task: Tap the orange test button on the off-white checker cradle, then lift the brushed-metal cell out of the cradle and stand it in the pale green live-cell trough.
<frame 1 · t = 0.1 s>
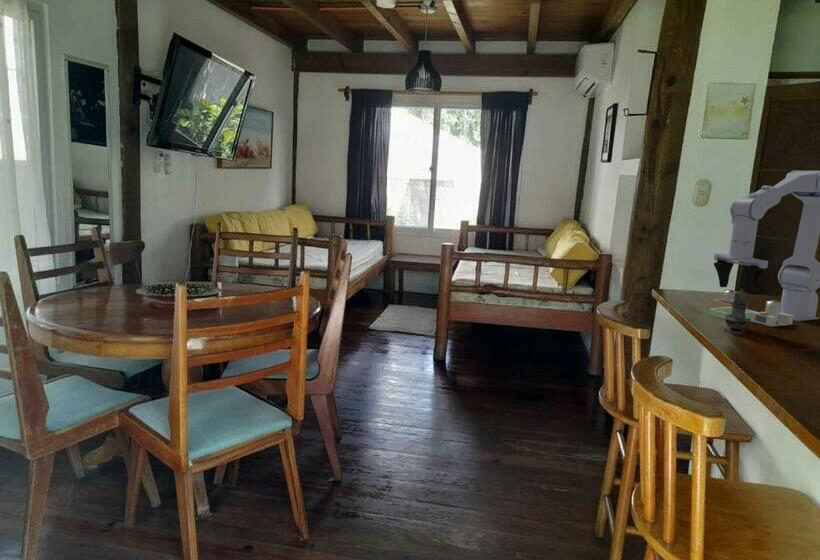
hand: (735, 289, 148), 10 cm above the table, fingers open, 7 cm apart
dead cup: (728, 311, 166), on the table
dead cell: (728, 309, 166), resting on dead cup
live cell: (770, 322, 151), resting on cradle
grey chess piece: (735, 332, 141), on the table
cradle: (770, 323, 151), on the table
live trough: (731, 317, 157), on the table
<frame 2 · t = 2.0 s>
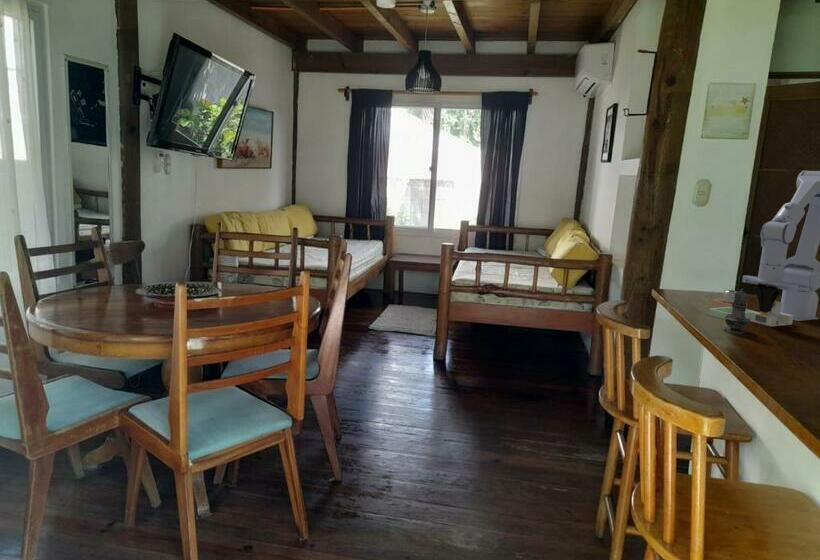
hand: (764, 311, 149), 4 cm above the table, fingers closed
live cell: (770, 322, 151), resting on cradle, touching gripper
everything else where it was.
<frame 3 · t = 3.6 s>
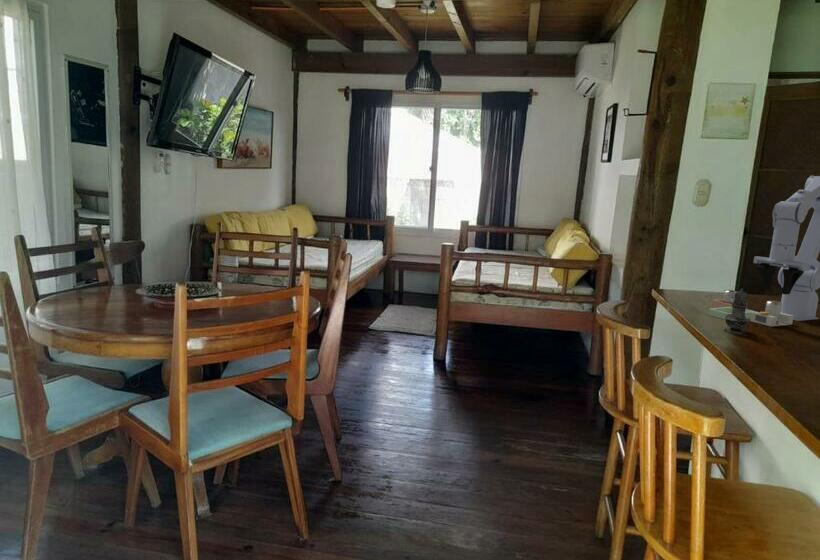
hand: (776, 292, 150), 9 cm above the table, fingers open, 5 cm apart
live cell: (770, 322, 151), resting on cradle
everything else where it was.
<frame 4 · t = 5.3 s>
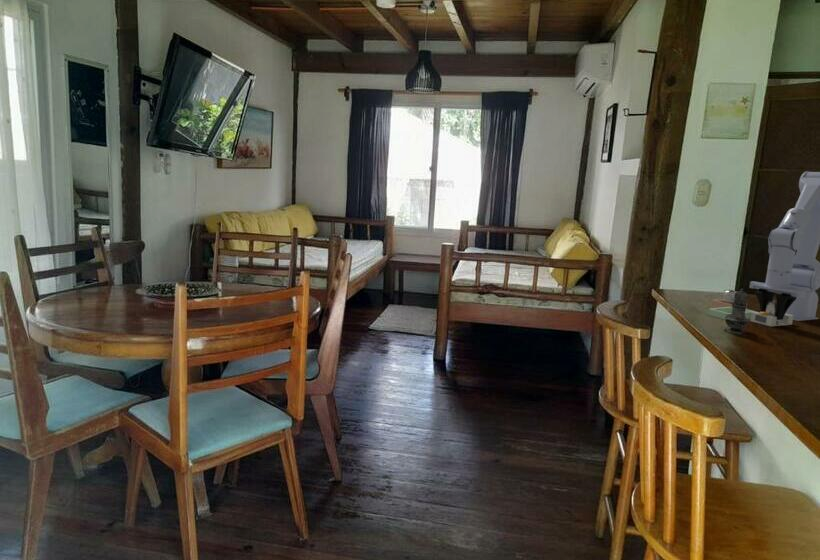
hand: (771, 317, 151), 2 cm above the table, fingers closed on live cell, 4 cm apart
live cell: (770, 322, 151), resting on cradle, touching gripper
everything else where it was.
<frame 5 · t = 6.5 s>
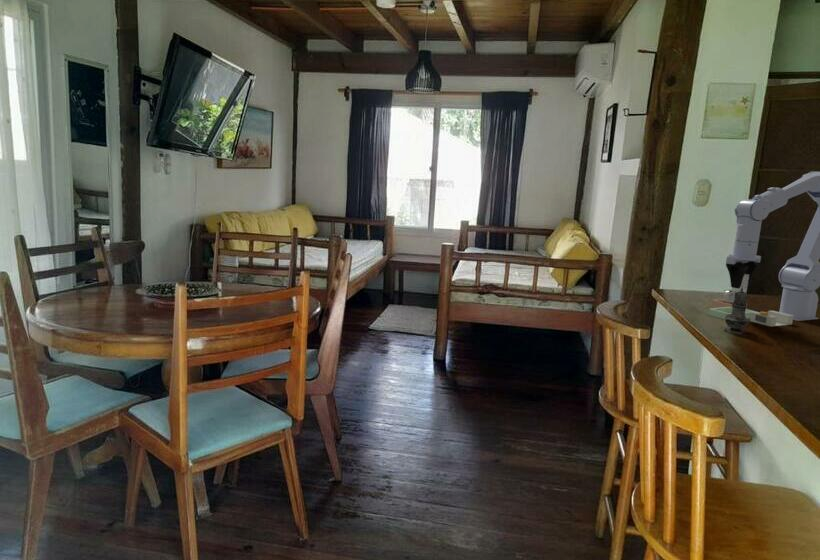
hand: (739, 287, 154), 10 cm above the table, fingers closed on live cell, 4 cm apart
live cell: (738, 293, 155), point 8 cm above the table, touching gripper
everything else where it was.
when the fingers open (3 cm above the table, at t = 8.2 s): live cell stays where it is, resting on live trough.
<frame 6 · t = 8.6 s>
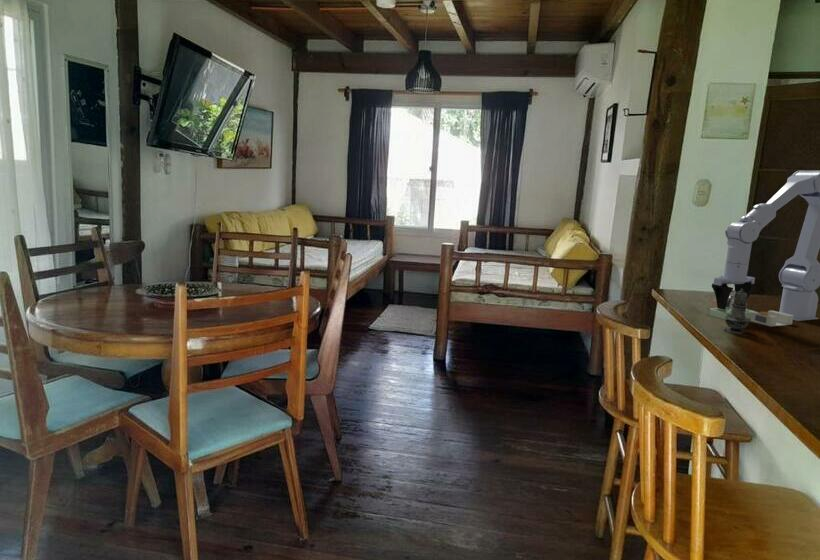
hand: (730, 308, 156), 3 cm above the table, fingers open, 7 cm apart
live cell: (729, 316, 157), resting on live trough
everything else where it was.
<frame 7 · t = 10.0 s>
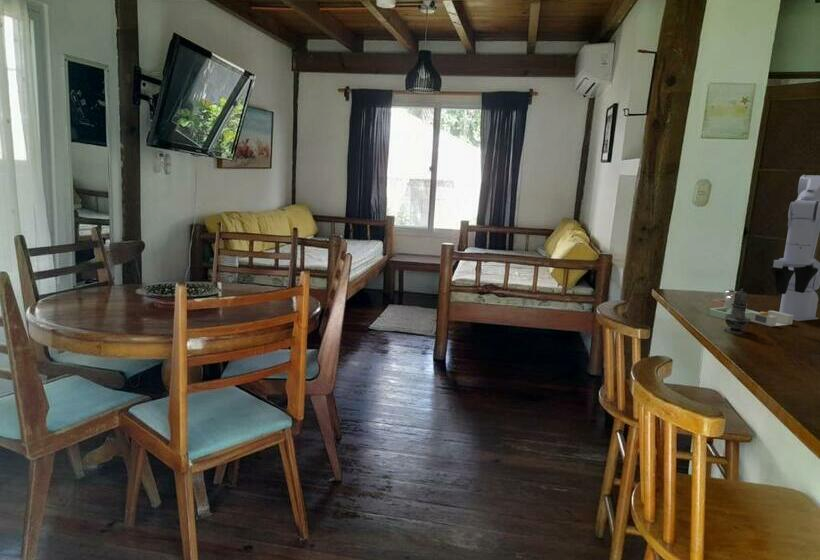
hand: (790, 292, 146), 10 cm above the table, fingers open, 7 cm apart
nothing on the table moved.
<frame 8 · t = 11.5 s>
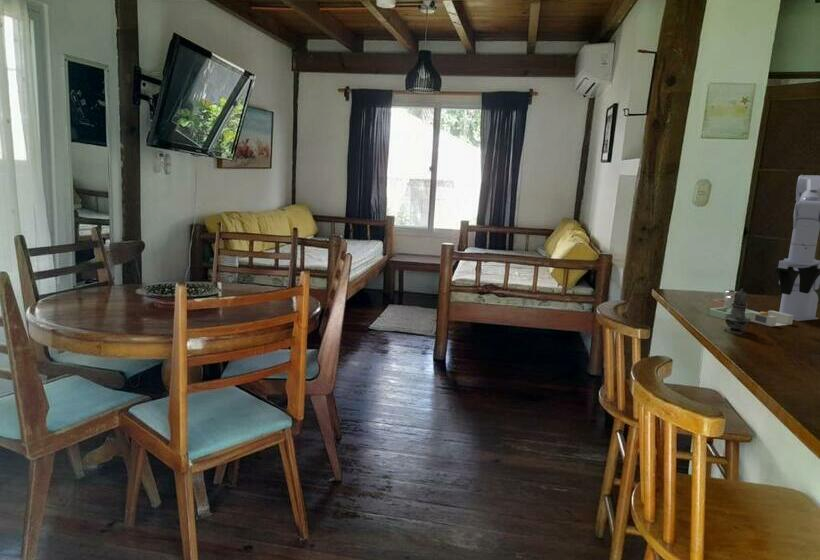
hand: (794, 293, 146), 10 cm above the table, fingers open, 7 cm apart
nothing on the table moved.
at the end: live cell inside the target area on the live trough (1.0 cm from its centre), point 0.5 cm above the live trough's base; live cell tilted 2°; the gripper is holding nothing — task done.
